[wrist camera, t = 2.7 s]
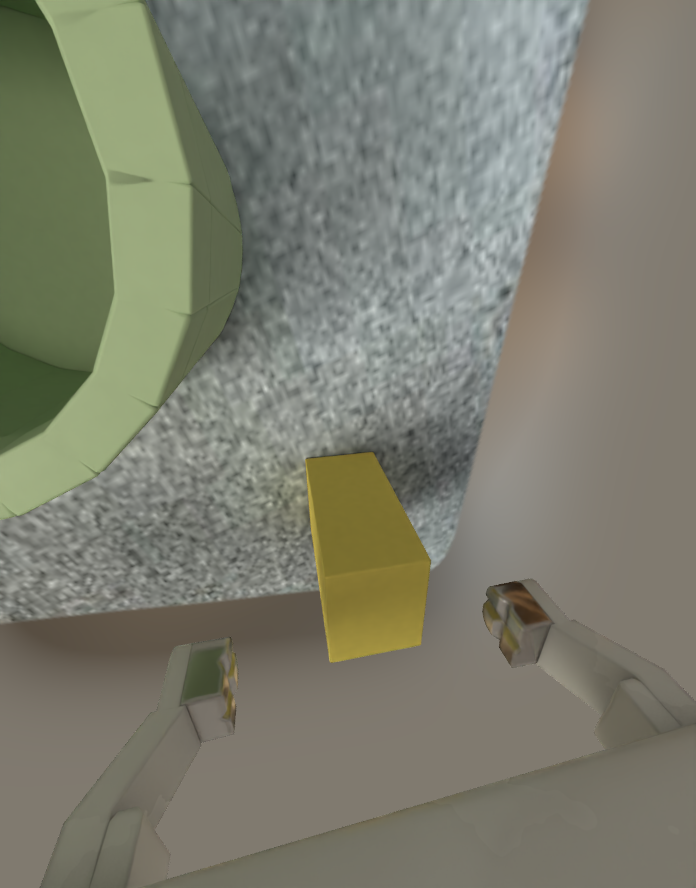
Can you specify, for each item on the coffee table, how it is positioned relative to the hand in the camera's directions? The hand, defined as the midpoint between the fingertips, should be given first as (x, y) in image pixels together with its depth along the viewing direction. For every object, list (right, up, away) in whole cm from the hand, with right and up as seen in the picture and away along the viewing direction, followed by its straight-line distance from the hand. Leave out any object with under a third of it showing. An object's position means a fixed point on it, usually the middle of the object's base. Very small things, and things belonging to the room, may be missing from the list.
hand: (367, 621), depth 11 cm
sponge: (-1, +3, +6) cm, 7 cm away
